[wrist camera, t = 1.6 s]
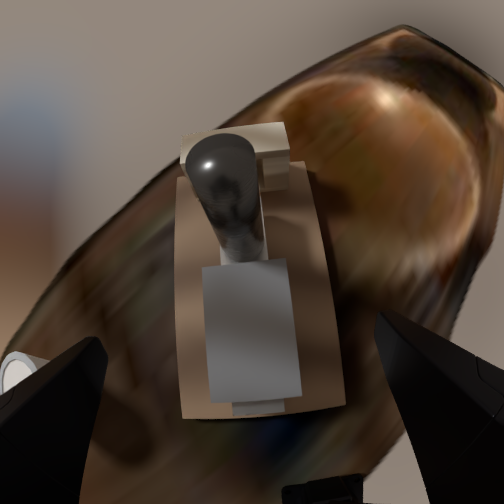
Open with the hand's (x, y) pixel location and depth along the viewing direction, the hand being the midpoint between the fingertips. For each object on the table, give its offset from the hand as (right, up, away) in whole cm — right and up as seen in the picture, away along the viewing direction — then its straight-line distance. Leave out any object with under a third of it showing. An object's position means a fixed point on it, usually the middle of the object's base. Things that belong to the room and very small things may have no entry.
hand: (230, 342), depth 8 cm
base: (+1, 0, +15) cm, 15 cm away
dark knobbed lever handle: (+1, -1, +12) cm, 12 cm away
